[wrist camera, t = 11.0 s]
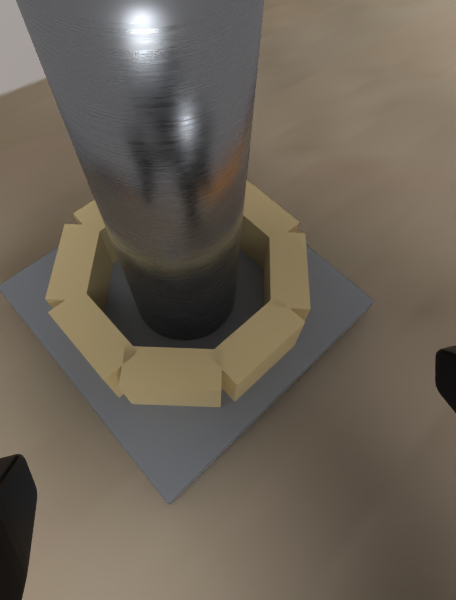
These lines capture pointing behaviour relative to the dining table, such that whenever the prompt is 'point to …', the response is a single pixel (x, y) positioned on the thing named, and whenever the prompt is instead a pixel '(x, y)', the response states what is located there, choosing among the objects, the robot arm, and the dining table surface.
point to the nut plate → (185, 354)
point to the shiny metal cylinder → (160, 139)
